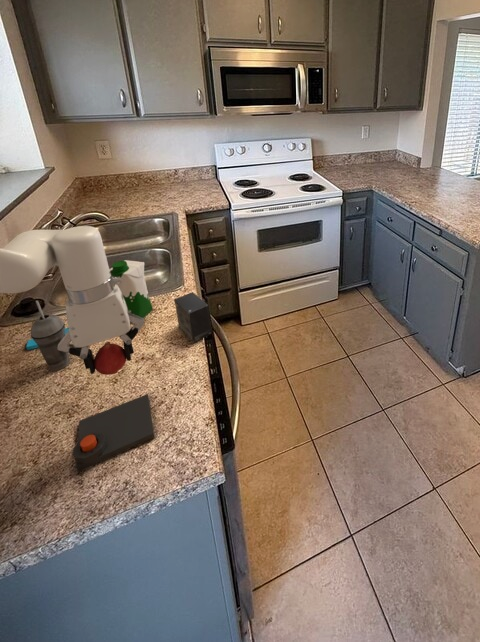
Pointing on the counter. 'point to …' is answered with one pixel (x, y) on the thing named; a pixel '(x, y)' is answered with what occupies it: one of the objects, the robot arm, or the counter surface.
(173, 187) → the counter surface
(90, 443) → the power button
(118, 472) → the counter surface
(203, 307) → the small box
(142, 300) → the milk carton
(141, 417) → the scale
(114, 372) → the onion
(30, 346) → the sponge
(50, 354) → the beverage cup
